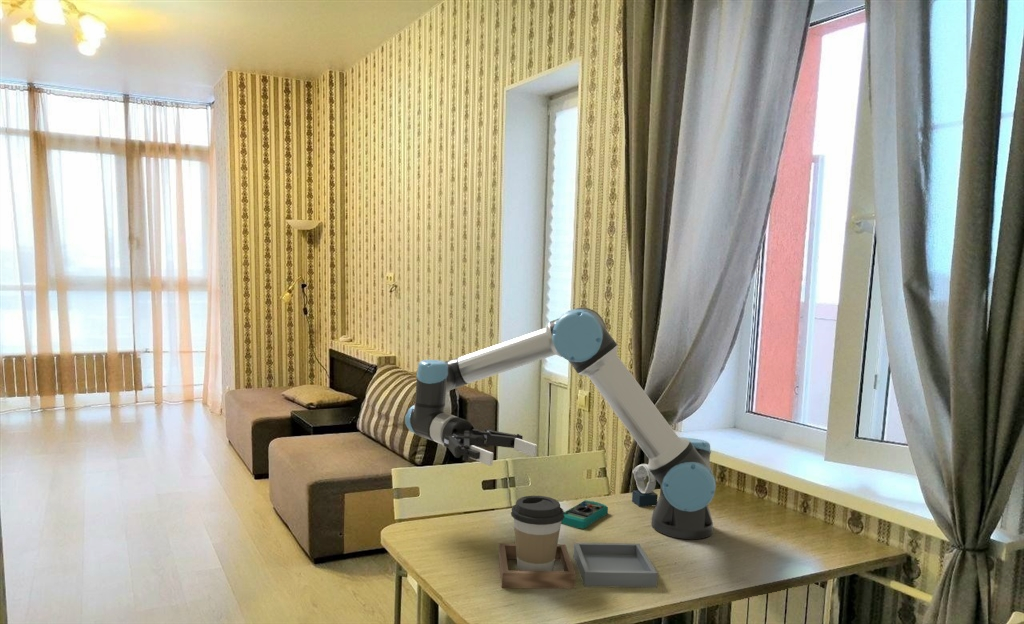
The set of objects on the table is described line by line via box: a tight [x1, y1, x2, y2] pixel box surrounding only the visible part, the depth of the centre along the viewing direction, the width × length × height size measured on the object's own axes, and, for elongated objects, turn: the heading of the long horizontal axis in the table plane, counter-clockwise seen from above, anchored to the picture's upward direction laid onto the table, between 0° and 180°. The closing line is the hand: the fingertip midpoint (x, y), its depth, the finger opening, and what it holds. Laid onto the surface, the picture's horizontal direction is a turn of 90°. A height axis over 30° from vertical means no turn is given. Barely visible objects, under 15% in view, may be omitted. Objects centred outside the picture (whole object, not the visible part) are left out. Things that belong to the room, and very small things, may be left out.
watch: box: [631, 463, 659, 508], centre depth 191 cm, size 6×8×11 cm
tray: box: [572, 542, 658, 588], centre depth 147 cm, size 15×15×3 cm
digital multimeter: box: [561, 499, 609, 530], centre depth 178 cm, size 7×15×3 cm, turn 147°
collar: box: [498, 542, 577, 589], centre depth 145 cm, size 15×15×3 cm
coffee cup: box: [510, 495, 565, 571], centre depth 145 cm, size 11×11×15 cm
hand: (514, 455), depth 150 cm, fingers open, 13 cm apart
